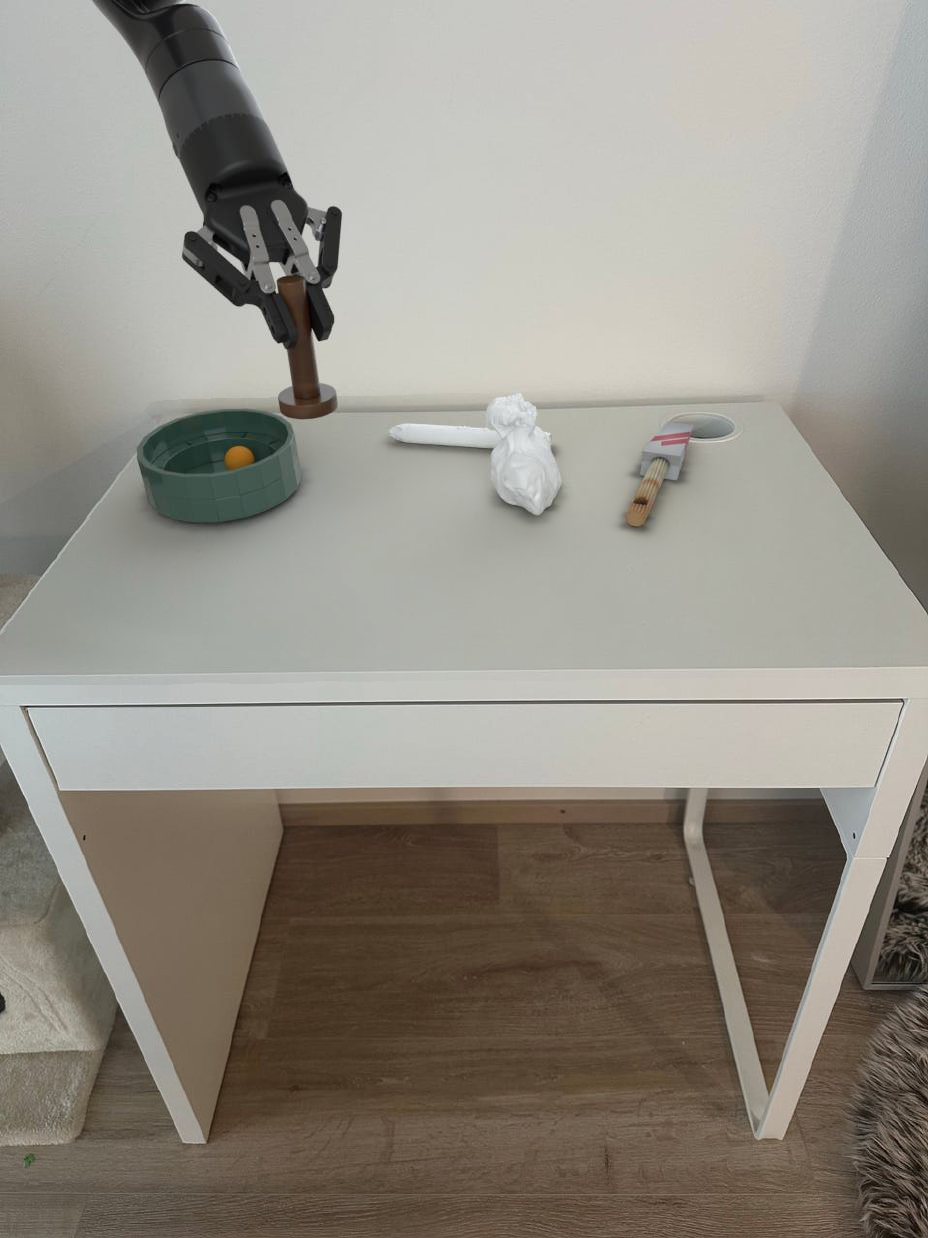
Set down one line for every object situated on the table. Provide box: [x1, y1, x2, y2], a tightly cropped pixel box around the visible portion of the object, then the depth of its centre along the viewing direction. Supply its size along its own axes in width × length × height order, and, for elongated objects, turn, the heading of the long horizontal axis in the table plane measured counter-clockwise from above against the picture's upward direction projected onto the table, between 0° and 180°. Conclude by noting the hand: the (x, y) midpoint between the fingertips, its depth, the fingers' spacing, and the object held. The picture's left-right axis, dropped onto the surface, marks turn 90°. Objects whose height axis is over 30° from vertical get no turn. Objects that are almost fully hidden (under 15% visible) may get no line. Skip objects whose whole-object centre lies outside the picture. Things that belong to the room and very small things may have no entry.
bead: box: [225, 446, 255, 470], centre depth 96 cm, size 3×3×3 cm
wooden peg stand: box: [275, 275, 339, 420], centre depth 75 cm, size 5×5×10 cm
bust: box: [483, 392, 563, 516], centre depth 90 cm, size 12×8×11 cm
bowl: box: [136, 408, 302, 523], centre depth 94 cm, size 15×15×6 cm
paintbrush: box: [625, 421, 694, 527], centre depth 93 cm, size 4×3×20 cm
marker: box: [387, 422, 552, 449], centre depth 101 cm, size 18×2×2 cm, turn 77°
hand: (309, 338), depth 73 cm, fingers closed on wooden peg stand
